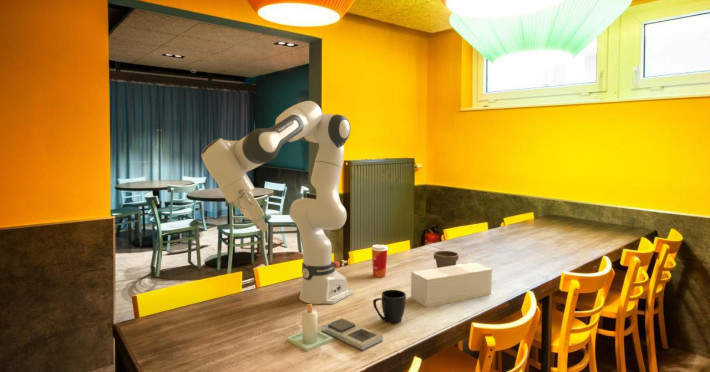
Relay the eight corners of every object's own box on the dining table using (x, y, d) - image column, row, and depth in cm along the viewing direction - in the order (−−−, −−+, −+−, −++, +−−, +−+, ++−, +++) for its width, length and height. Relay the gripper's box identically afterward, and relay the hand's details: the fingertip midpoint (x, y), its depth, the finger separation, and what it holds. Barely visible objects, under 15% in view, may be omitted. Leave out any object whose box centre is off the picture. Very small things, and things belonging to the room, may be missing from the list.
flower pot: (430, 271, 203) (430, 250, 202) (453, 270, 204) (453, 250, 203) (437, 278, 192) (437, 257, 190) (461, 278, 193) (462, 256, 192)
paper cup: (371, 272, 199) (372, 243, 198) (388, 273, 198) (388, 244, 197) (370, 278, 191) (370, 247, 190) (387, 279, 190) (387, 248, 189)
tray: (312, 331, 137) (312, 327, 137) (332, 342, 130) (332, 337, 130) (286, 342, 130) (286, 337, 130) (307, 353, 123) (307, 348, 123)
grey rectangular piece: (341, 325, 142) (342, 315, 142) (382, 343, 130) (382, 333, 129) (321, 333, 136) (321, 323, 136) (362, 353, 123) (362, 342, 123)
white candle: (310, 335, 133) (310, 300, 132) (320, 340, 130) (320, 304, 129) (299, 340, 130) (299, 304, 129) (308, 345, 127) (308, 308, 125)
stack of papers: (473, 286, 182) (474, 262, 181) (491, 294, 173) (492, 268, 172) (410, 298, 168) (411, 271, 167) (426, 307, 159) (427, 279, 157)
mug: (367, 319, 147) (367, 293, 146) (397, 314, 152) (397, 288, 151) (379, 329, 139) (379, 301, 138) (409, 322, 145) (410, 295, 144)
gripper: (252, 184, 118) (278, 226, 120) (243, 185, 137) (266, 221, 139) (232, 196, 116) (259, 238, 118) (226, 196, 135) (249, 232, 137)
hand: (262, 229), depth 129 cm, fingers open, 8 cm apart
